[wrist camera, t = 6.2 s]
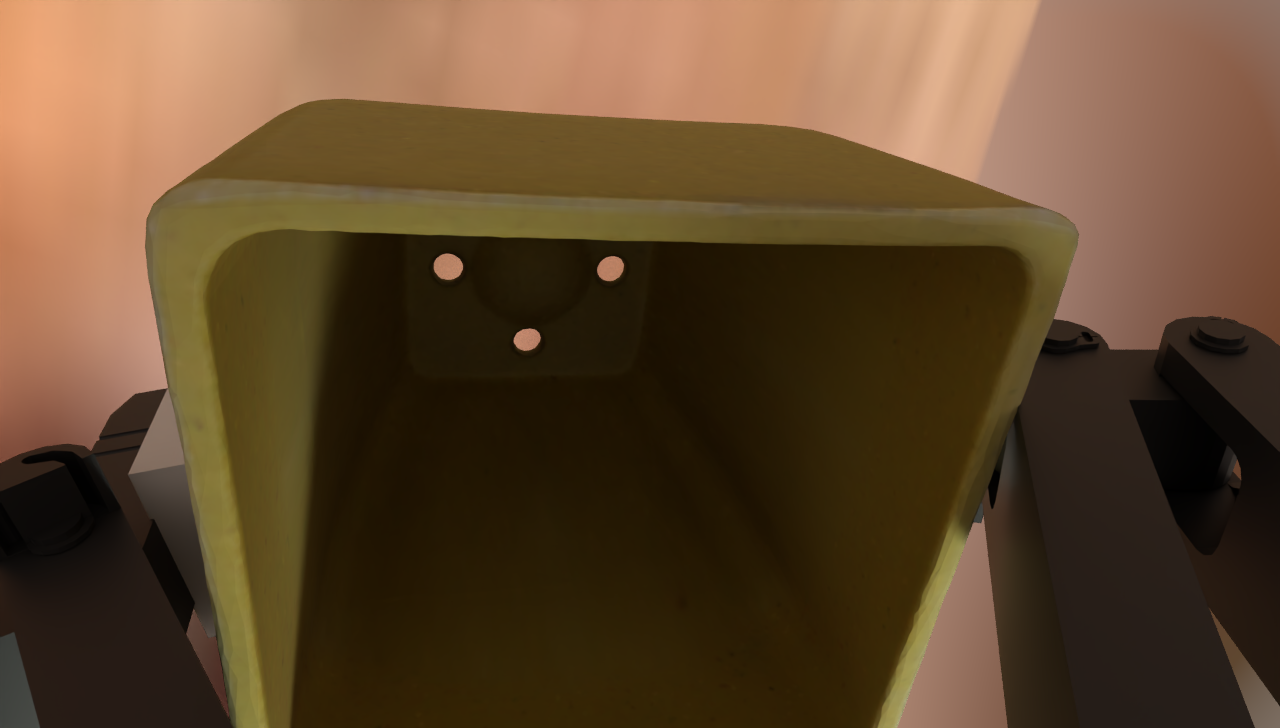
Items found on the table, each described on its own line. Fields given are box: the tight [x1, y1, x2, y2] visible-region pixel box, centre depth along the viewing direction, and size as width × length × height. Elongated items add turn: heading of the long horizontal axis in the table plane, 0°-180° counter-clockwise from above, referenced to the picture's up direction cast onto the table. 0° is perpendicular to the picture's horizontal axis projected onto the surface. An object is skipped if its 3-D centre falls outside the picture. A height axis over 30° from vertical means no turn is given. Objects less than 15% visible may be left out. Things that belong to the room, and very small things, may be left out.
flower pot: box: [145, 99, 1079, 728], centre depth 13 cm, size 9×9×9 cm
